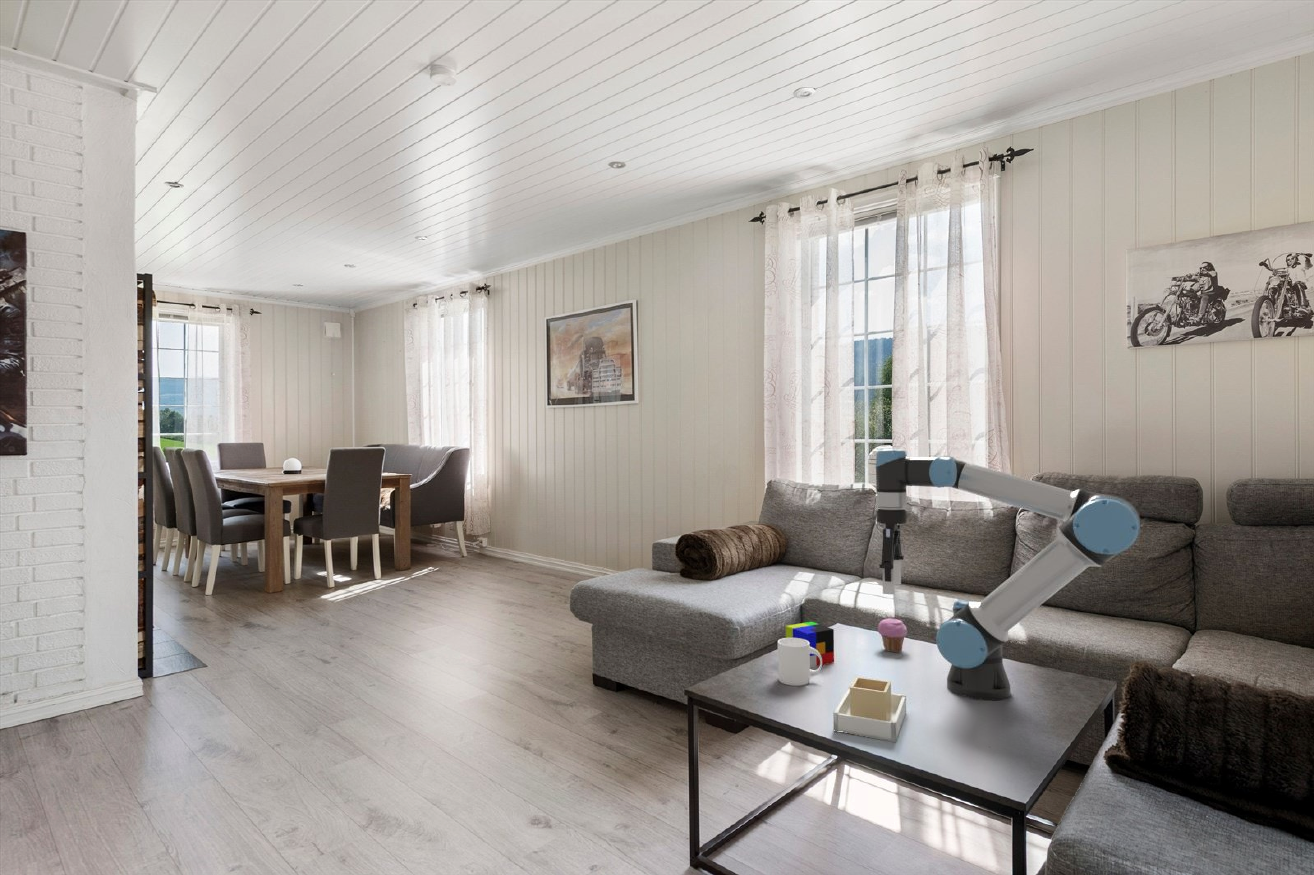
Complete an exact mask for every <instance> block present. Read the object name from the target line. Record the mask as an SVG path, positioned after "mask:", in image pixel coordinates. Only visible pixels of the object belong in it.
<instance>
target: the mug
mask: <svg viewBox="0 0 1314 875" xmlns="http://www.w3.org/2000/svg"><path fill="white" fill-rule="evenodd" d="M810 654H815V655H817V656H818V657H819V659H820V662H821V664H820V666H818V668H817V669H815V670H814V669H811V667H810ZM822 666H823V665H822V657H821V655H820V653H819V652H818V651H817V650H816V649H814V648H812V647H810V643H809V641H807V640H804V639H800V638H786V637H783V638H780V639H778V640H777V678H778V681H779V682H780V683H782V684H783V685H786V686H791V687H792V686H793V687H800V686H801V687H802V686H805V685H807V684H809V683H810V679H811V677H814V676H817V674H819V673H820V672H821V669H822Z"/></svg>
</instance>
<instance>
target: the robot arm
mask: <svg viewBox="0 0 1314 875" xmlns="http://www.w3.org/2000/svg"><path fill="white" fill-rule="evenodd" d="M875 458H876V460H875V462H876V463H875V481H876V489H875V490H876V494H874V496H873V498H874V499H876V507H878V508H877V509H876V522H877V523H879V524H882V525H883V524H884V525H885V528H883V529H882V548H881V563H880V564H879V565H878V566H879V569H882V594H883V595H893V596H894V595H895V585H899V586H900V585H902V561H904V560H905V558H904V555H903V553H902V545H901V544H902V543H901V542H902V541H901V529H900V528H901V525H904V524H907V522H908V521H907V519H908V517H907V515H908V514H907V510H906V508H907V506H908V504H907V502H908V500H907V498H908V496H907V495H908V494H907V492H908V491H907V486H908V487H933V488H953V489H956V490H960V491H963V492H967V493H970V494H972V495H973V494H974V495H977V496H980V497H982V498H987V499H989V500H993V501H996V502H999V503H1003V504H1006V505H1009V506H1013V507H1016V508H1018V509H1023V510H1026V511H1029V512H1033V513H1035V514H1039V515H1042V516H1046V517H1049V518H1051V519H1052V518H1053V519H1056V520H1059V521H1061V522H1062V521H1063V523H1062V524H1060V525H1059V526H1058V527H1057V537H1056V538H1055V539H1053V540H1052V541H1051V542H1050V543H1049V544H1048V545H1046V546H1045V547H1044V548H1043V549H1042V550H1040V551H1039V552H1038V553H1037V554H1036V555H1035V556H1033V557H1032V558H1031V559H1030V560H1028V561H1027V562H1026V563H1025V564H1024V565H1023V566H1021V567H1020V568H1019V569H1018V570H1016V572H1014V573H1013V574H1012V575H1011V576H1010V577H1008V578H1007V579H1006V580H1005V581H1004V582H1002V583H1001V584H1000V585H998V587H996V588H995V589H994V590H993V591H991V592H990V593H989V594H988V595H986V597H984V598H983V599H982V600H981V601H974V600H960V599H959V600H955V601H954V602H953V607H952V611H953V612H952V614H953V615H952V616H950V618H949V619H948V620H946V621H944V622H943V623H942V624H941V625H940V626H939V628H938V629H937V630H938V631H937V633H936V635H935V636H936V637H935V640H936V646H937V649H938V652H939V653H940V655H941V656H942V657H943V659H945V661H947V662H948V663H949V664H950V668H949V671H948V674H947V676H946V686H947V689H949V691H951V692H952V693H954V694H957V695H959V696H962V697H966V698H969V699H975V700H976V699H977V700H983V701H999V700H1005V699H1008V698H1009V697H1010V696H1011V693H1012V692H1011V688H1012V687H1011V684H1010V680H1009V678H1008V675H1007V673H1006V670H1005V666H1004V663H1003V658H1004V657H1003V644H1006V643H1007V642H1008V641H1009V631H1010V630H1011V629H1012V628H1014V627H1015V626H1016V625H1017V624H1019V623H1020V622H1021V621H1022V620H1024V619H1025V618H1026V617H1027V616H1029V615H1030V614H1031V613H1032V612H1034V611H1035V610H1036V609H1038V608H1039V607H1040V606H1041V605H1042V604H1044V603H1046V602H1047V600H1049V599H1050V598H1051V597H1053V596H1054V595H1055V594H1056V593H1057V592H1058V591H1060V590H1061V589H1062V588H1064V587H1065V586H1066V585H1068V584H1069V583H1070V582H1071V581H1073V580H1074V579H1075V578H1076V577H1077V576H1079V575H1080V574H1081V573H1082V572H1084V571H1085V570H1087V568H1089V567H1098V568H1099V567H1102V566H1104V565H1106V563H1108V562H1109V561H1110V560H1111V559H1113V558H1114V557H1115V556H1117V555H1118V554H1119V553H1122V552H1125V551H1126V550H1128V549H1129V548H1130V547H1132V546H1133V544H1134V543H1135V542H1136V541H1137V539H1138V537H1139V534H1140V531H1141V517H1140V514H1139V511H1138V510H1137V508H1136V507H1135V505H1133V503H1132V502H1130V501H1128V500H1127V499H1125V498H1123V497H1120V496H1117V495H1113V494H1105V493H1104V494H1103V493H1099V492H1098V493H1097V492H1092V491H1088V490H1084V489H1082V488H1078V489H1075V490H1070V489H1069V490H1068V489H1065V488H1061V487H1057V486H1053V485H1051V484H1047V483H1043V482H1039V481H1037V480H1032V479H1028V478H1025V477H1021V476H1018V475H1014V474H1011V473H1007V472H1005V471H1004V472H1003V471H999V470H996V469H992V468H990V467H989V468H988V467H986V466H981V465H979V464H974V463H970V462H967V461H963V460H960V459H956V458H955V457H953V456H948V455H941V456H930V457H929V456H926V457H925V456H920V457H919V456H917V457H912V456H907V452H906V450H904V449H880V450H878V451H877V452H876V457H875Z"/></svg>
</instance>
